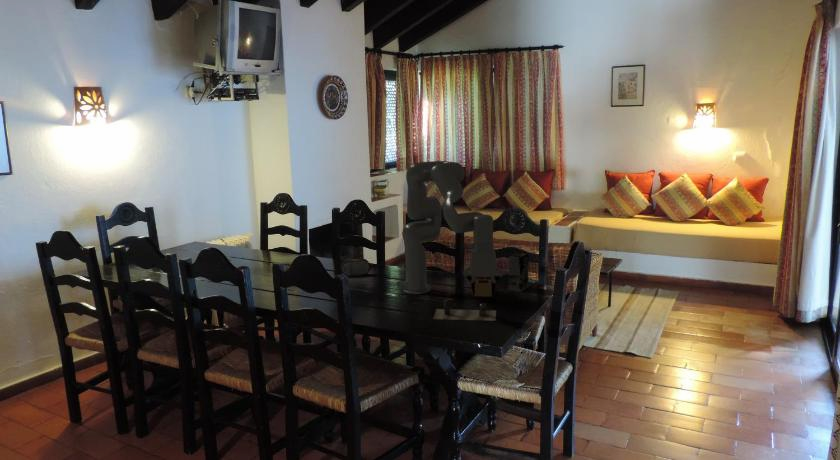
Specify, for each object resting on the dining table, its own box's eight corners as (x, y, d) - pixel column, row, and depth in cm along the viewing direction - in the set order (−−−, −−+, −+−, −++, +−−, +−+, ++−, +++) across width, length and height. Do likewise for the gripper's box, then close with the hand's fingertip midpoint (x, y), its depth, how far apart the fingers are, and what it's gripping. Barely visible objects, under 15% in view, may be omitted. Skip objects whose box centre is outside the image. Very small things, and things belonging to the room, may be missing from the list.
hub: (479, 316, 235) (479, 305, 234) (479, 313, 237) (479, 302, 236) (486, 316, 234) (486, 305, 233) (486, 314, 237) (486, 303, 236)
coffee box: (521, 292, 268) (521, 257, 265) (507, 290, 272) (508, 255, 269) (528, 287, 276) (529, 253, 273) (515, 285, 279) (516, 251, 276)
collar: (474, 296, 231) (474, 283, 230) (475, 291, 237) (475, 279, 236) (491, 296, 230) (491, 283, 229) (491, 291, 237) (491, 279, 236)
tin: (369, 273, 305) (369, 257, 304) (371, 275, 302) (370, 258, 301) (340, 276, 301) (339, 259, 300) (341, 277, 298) (340, 261, 297)
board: (433, 321, 233) (432, 305, 231) (436, 311, 244) (436, 295, 243) (495, 323, 229) (495, 306, 228) (495, 313, 241) (496, 297, 240)
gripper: (460, 249, 228) (460, 294, 231) (506, 249, 226) (506, 295, 229) (461, 245, 235) (461, 289, 239) (506, 245, 233) (505, 289, 236)
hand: (483, 291), depth 234 cm, fingers closed on collar, 6 cm apart
